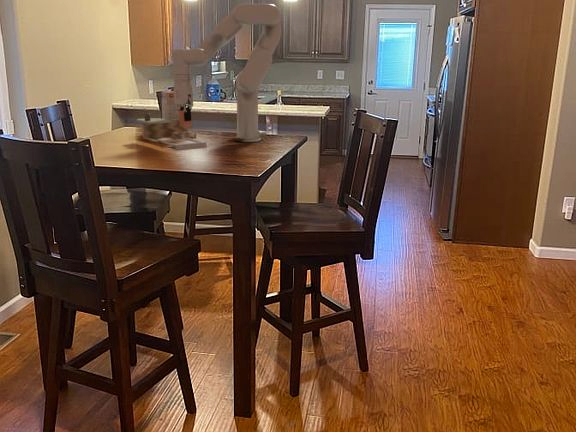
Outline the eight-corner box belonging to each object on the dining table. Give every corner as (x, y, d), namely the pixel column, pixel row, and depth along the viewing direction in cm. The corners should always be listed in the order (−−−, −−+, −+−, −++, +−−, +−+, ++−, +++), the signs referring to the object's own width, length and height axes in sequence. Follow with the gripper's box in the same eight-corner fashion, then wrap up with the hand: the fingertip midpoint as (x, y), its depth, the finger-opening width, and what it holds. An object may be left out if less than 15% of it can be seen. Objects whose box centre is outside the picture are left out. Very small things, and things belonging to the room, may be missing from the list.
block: (187, 125, 253) (186, 110, 251) (191, 126, 250) (190, 110, 248) (179, 126, 251) (178, 110, 249) (183, 127, 248) (182, 111, 246)
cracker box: (180, 137, 262) (179, 92, 256) (167, 138, 260) (165, 92, 254) (174, 133, 275) (173, 90, 269) (162, 134, 272) (160, 90, 267)
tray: (189, 143, 246) (189, 138, 246) (206, 147, 236) (206, 142, 235) (160, 145, 238) (160, 140, 237) (176, 150, 227) (176, 144, 227)
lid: (157, 119, 251) (157, 111, 250) (171, 122, 241) (170, 113, 240) (136, 120, 244) (136, 112, 243) (149, 123, 235) (149, 114, 234)
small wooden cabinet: (186, 137, 262) (186, 118, 259) (200, 141, 252) (200, 121, 250) (142, 141, 249) (141, 121, 246) (156, 145, 239) (155, 124, 236)
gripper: (165, 78, 249) (169, 119, 254) (184, 79, 236) (187, 122, 241) (181, 77, 253) (183, 118, 258) (199, 78, 240) (202, 121, 246)
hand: (185, 120), depth 250 cm, fingers closed on block, 4 cm apart
